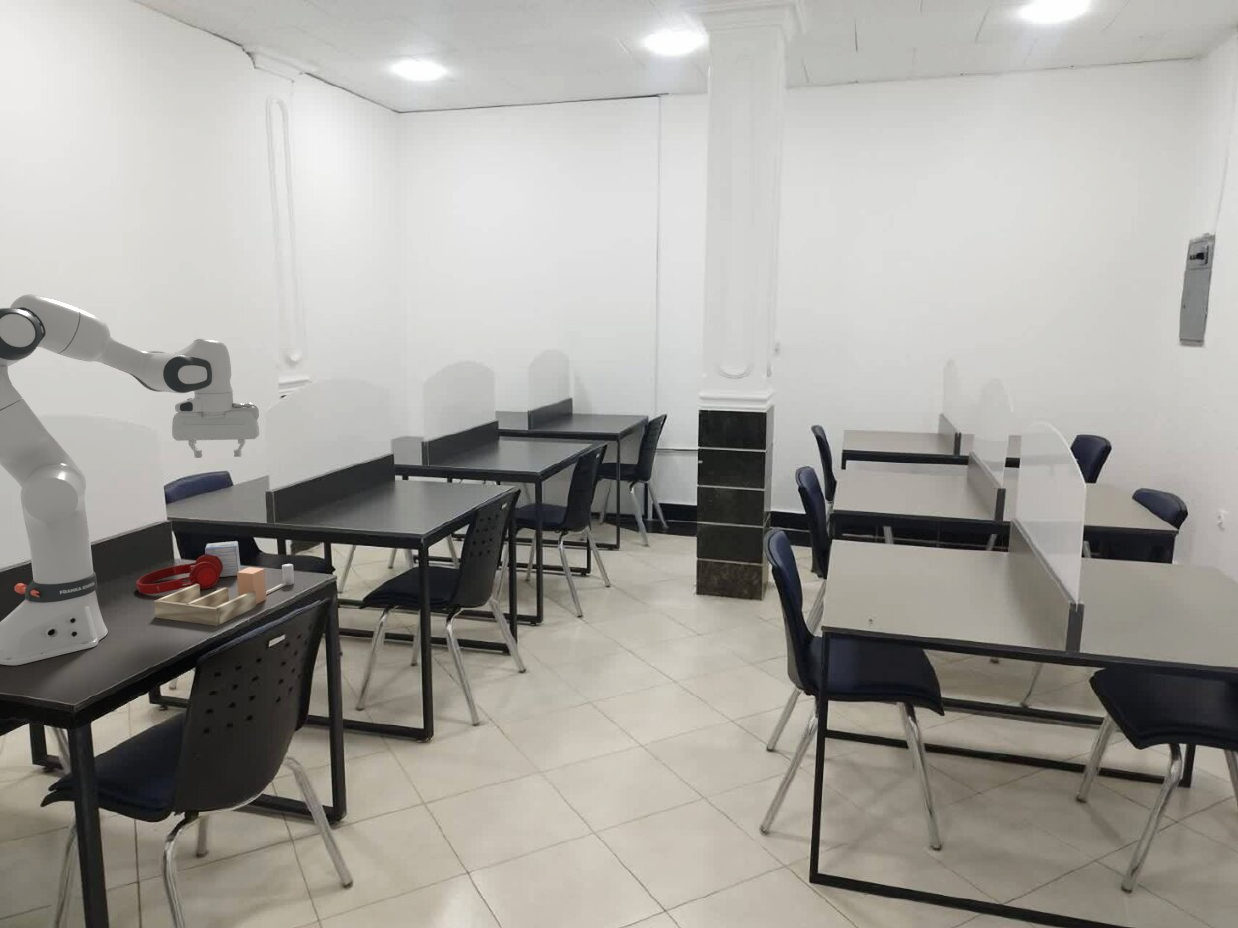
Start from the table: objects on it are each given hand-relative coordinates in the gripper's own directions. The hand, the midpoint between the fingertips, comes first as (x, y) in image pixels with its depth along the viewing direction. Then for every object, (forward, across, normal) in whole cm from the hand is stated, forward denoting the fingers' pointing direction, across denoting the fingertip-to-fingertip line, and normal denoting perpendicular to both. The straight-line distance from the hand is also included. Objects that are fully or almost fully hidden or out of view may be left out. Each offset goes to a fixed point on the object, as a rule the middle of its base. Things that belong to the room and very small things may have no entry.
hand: (218, 457), depth 224 cm
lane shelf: (+34, 0, +21) cm, 40 cm away
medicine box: (+34, +2, -8) cm, 35 cm away
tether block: (+34, -12, +9) cm, 37 cm away
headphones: (+34, +12, -1) cm, 36 cm away
